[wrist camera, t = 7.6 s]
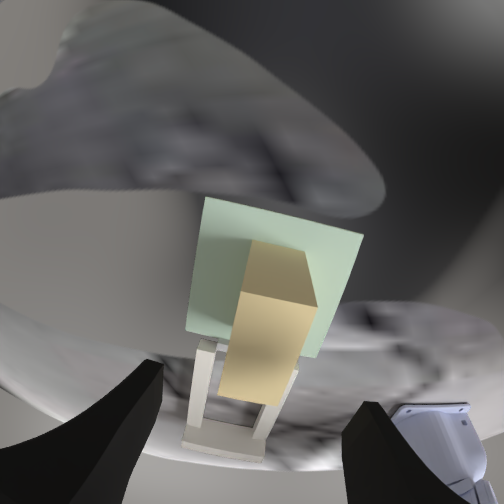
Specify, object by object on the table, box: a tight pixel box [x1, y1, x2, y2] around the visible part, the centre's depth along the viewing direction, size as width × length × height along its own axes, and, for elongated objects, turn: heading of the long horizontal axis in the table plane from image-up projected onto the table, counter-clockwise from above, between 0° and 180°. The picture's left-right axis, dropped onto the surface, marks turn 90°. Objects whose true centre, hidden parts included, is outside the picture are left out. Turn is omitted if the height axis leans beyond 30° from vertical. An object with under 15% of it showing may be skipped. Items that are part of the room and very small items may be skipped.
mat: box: [185, 196, 364, 358], centre depth 18 cm, size 9×9×1 cm
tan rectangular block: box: [217, 240, 318, 406], centre depth 15 cm, size 3×6×6 cm, turn 168°
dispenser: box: [181, 338, 299, 463], centre depth 20 cm, size 7×11×3 cm, turn 168°
